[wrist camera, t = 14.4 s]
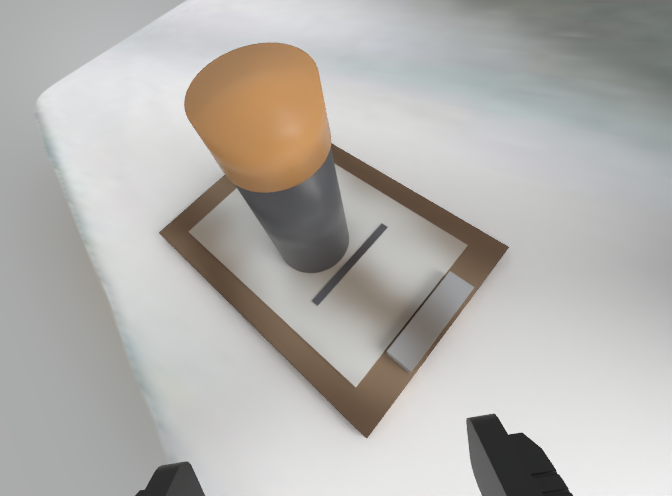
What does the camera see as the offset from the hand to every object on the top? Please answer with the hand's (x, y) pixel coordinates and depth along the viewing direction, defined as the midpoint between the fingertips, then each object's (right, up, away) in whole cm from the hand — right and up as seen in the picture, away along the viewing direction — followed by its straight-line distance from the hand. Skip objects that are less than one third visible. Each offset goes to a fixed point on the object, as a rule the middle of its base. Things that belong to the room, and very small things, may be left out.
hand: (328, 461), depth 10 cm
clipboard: (-1, +6, +14) cm, 16 cm away
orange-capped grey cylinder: (-1, +7, +13) cm, 15 cm away
